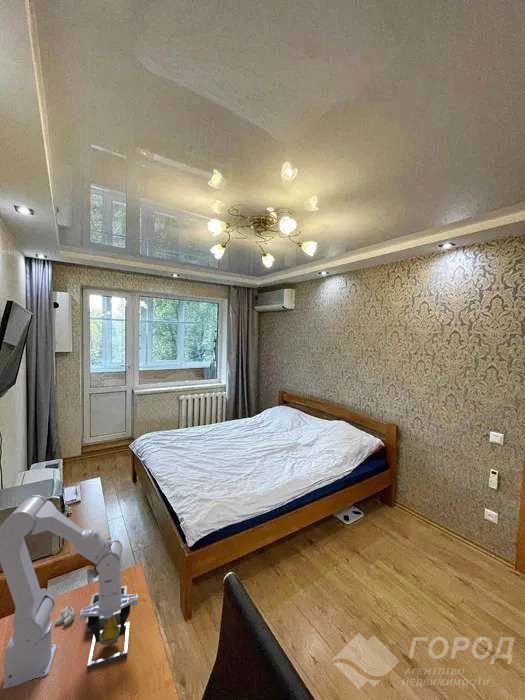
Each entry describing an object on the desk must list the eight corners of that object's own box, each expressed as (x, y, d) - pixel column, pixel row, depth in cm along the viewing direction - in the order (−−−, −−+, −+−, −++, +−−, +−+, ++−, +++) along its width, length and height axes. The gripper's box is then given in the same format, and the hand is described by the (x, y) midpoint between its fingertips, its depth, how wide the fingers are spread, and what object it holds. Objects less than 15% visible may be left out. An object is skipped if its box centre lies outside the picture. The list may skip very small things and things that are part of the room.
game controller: (51, 622, 90) (51, 614, 90) (87, 594, 100) (87, 586, 100) (63, 630, 88) (63, 621, 87) (98, 600, 98) (98, 592, 98)
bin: (85, 634, 86) (85, 622, 86) (92, 604, 96) (92, 594, 96) (124, 622, 90) (124, 611, 90) (127, 595, 100) (127, 585, 100)
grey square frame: (87, 671, 77) (87, 666, 77) (93, 637, 86) (93, 632, 86) (127, 657, 80) (127, 652, 80) (129, 626, 89) (129, 621, 89)
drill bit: (111, 657, 80) (112, 618, 81) (94, 654, 81) (95, 616, 82) (124, 640, 85) (124, 603, 86) (108, 637, 86) (109, 601, 87)
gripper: (77, 608, 76) (77, 659, 76) (137, 592, 81) (136, 639, 82) (83, 587, 83) (82, 634, 83) (138, 573, 88) (137, 617, 88)
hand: (109, 635), depth 83 cm, fingers closed on drill bit, 5 cm apart
